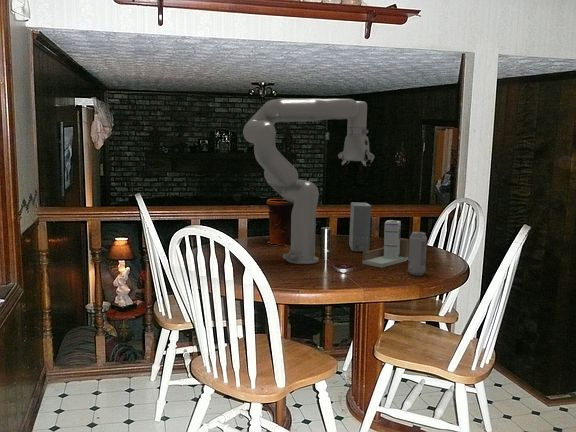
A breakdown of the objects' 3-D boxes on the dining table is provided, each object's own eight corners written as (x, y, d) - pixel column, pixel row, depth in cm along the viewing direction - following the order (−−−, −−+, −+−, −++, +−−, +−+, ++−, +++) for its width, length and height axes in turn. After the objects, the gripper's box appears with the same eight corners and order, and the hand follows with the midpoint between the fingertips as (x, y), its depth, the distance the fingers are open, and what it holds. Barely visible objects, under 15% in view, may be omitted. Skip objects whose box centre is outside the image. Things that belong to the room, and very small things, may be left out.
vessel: (264, 239, 260) (266, 197, 258) (294, 240, 262) (296, 198, 259) (265, 245, 246) (267, 201, 244) (297, 246, 247) (299, 202, 245)
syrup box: (398, 259, 216) (399, 222, 214) (383, 257, 218) (384, 221, 216) (399, 256, 222) (401, 220, 220) (385, 255, 223) (386, 219, 221)
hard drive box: (369, 252, 236) (371, 206, 234) (351, 251, 237) (353, 205, 234) (365, 245, 252) (367, 202, 249) (348, 245, 252) (350, 201, 249)
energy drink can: (411, 271, 203) (413, 230, 201) (427, 273, 200) (429, 232, 198) (405, 274, 198) (407, 232, 196) (421, 276, 195) (423, 234, 193)
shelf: (382, 267, 208) (383, 245, 206) (362, 263, 214) (363, 242, 212) (408, 260, 221) (409, 239, 220) (388, 256, 227) (389, 236, 226)
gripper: (380, 133, 217) (378, 176, 220) (344, 132, 229) (343, 174, 231) (369, 132, 212) (367, 177, 214) (333, 132, 223) (332, 174, 226)
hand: (355, 175), depth 223 cm, fingers open, 9 cm apart
